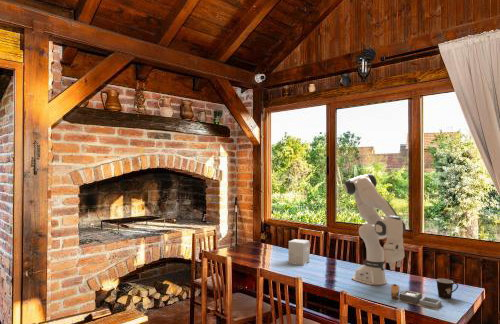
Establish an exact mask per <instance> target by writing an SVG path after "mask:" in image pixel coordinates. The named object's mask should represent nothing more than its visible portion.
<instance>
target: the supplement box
mask: <svg viewBox="0 0 500 324" xmlns="http://www.w3.org/2000/svg"><path fill="white" fill-rule="evenodd" d="M307 262H309V263H310V240H307V239H298V238H297V239H296V238H294V239H292V240H288V264H290V263H296V264H295V265H297V264H303V265H302V266H305V265H306V264H305V263H307ZM304 264H305V265H304ZM307 264H308V263H307Z"/></svg>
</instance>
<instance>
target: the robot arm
mask: <svg viewBox="0 0 500 324" xmlns="http://www.w3.org/2000/svg"><path fill="white" fill-rule="evenodd" d="M377 181H378V180H377V177H375V175H374V174H373V173H366V174H362V175H358V176H356V177H352V178H349V179H346V180H344V182H343V189H344V191H345V193H347V195H353V196H354V201H355V204H356V207H357V210H358V212H359V217H361V219H363V220H364V221H365V222H366V223H364V224H362V225H361V226H359V228H358V234H359V235H358V236H359V237H360V239H362V240H363V242H364V244H365V248H366V259H364V260H363V265H361V266H359V267H358V268H357V269H356V270H355V274H354V275H352V276H351V280H352V279H353V281H357V282H359V283H363V284H366V285H370V286H373V285H374V286H375V285H379V286H380V285H381V286H382V285H386V284H387V283H388V282H387V278H386V277H387V276H386V271H385V270H386V264H388V265H389V269H390V271H395V265H394V263H396V267H397V268H400V267H401V263H402V259H404V258H405V246H404V237H403V235H404V234H405V232H406V229H407V228H406V224H405V222H404V220H402V217H400V216H399V215H398V214H397V213H396V211H395V210H394V208H393V207H392V206H391V204H390V203H389V201H388V200H387V199H386V198H384V197H383V196H382V195H381V194H380V192H378V190H377V188H376V187H377V185H378V182H377ZM378 210H380V211H382V212H383V214H384V215H385V217H386V218H382V217H381V216H380V214H379V213H378ZM381 239H382V240H383V239H386V241H385V243H384V245H383V246H381V244H380V240H381Z"/></svg>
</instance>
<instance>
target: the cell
mask: <svg viewBox="0 0 500 324" xmlns="http://www.w3.org/2000/svg"><path fill="white" fill-rule="evenodd" d="M399 286H400V285H398V284H396V283H393V284H391V285H390V288H391V289H390V290H391V291H390V293H391V294H390V296H391V297H390V298H391V299H392V300H397V301H398V300H399V294H400V290H399V288H400V287H399Z"/></svg>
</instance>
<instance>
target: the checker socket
mask: <svg viewBox="0 0 500 324" xmlns="http://www.w3.org/2000/svg"><path fill="white" fill-rule="evenodd" d="M407 292H409V293H413V294H415V296H411V295H407V294H406V293H407ZM422 295H423V294H422V293H421V292H416V291H411V290H407V289H405V290H403V291H402V292H399V299H398V300H401V301H400V302H402V301H405V302H404V303H406V302H409V303H408V304H410V303H413V304H412V305H414V304H417V303H418V302H420V301H419V300H421V299H422V298H423V297H422Z"/></svg>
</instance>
